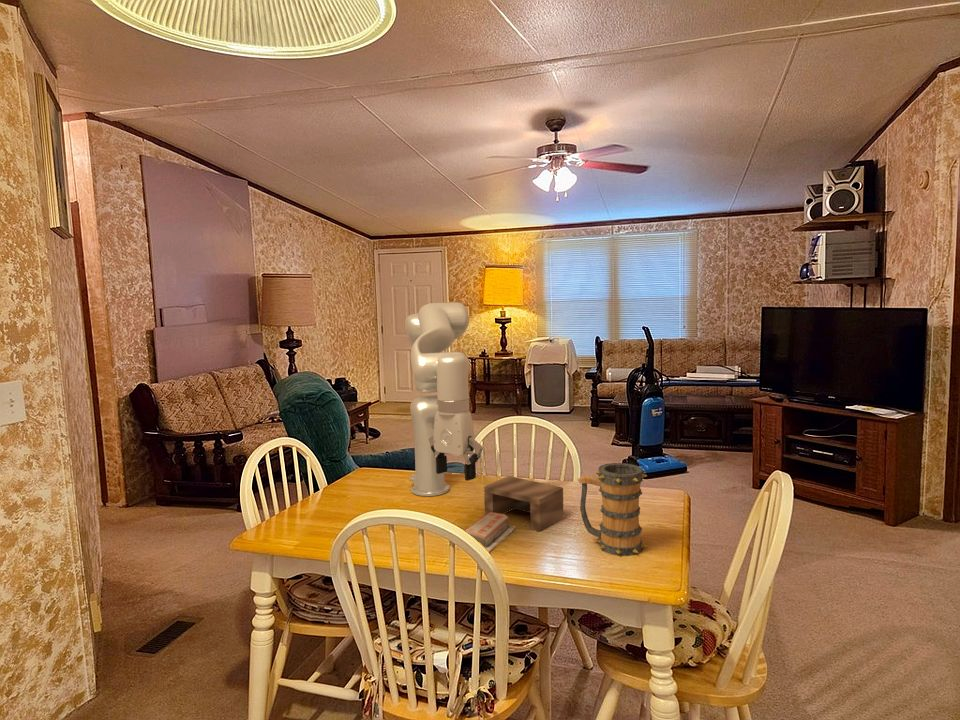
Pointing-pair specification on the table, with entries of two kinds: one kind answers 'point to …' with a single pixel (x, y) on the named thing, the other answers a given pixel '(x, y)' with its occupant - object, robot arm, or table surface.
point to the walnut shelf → (526, 500)
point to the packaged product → (490, 529)
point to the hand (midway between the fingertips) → (455, 475)
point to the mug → (616, 508)
